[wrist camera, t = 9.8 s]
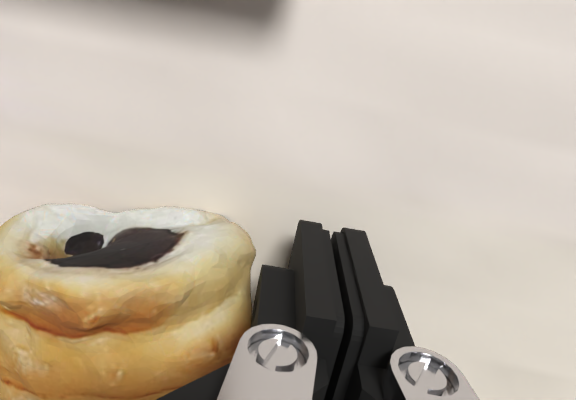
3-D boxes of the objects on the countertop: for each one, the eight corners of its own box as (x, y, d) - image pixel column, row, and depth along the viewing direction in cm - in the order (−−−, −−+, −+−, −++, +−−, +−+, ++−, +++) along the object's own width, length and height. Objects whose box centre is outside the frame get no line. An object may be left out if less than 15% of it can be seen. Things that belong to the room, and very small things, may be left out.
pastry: (256, 456, 16) (248, 584, 12) (52, 452, 16) (-14, 582, 12) (258, 196, 12) (248, 274, 9) (-6, 189, 12) (-123, 266, 9)
